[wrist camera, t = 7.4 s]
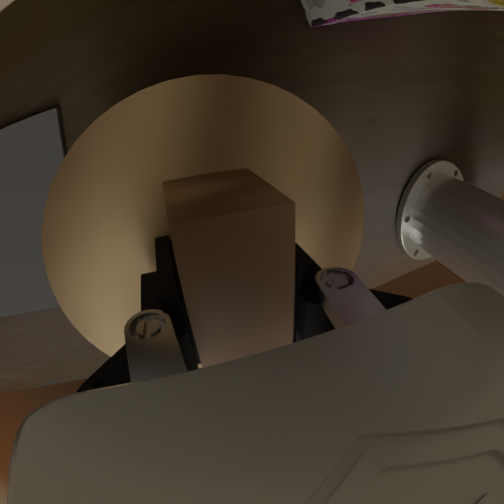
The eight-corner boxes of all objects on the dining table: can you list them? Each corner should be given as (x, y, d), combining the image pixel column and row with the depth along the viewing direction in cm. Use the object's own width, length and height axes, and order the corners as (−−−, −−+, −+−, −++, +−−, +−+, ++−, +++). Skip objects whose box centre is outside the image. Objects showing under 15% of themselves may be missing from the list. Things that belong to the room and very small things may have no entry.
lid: (355, 78, 11) (445, 82, 7) (338, 325, 18) (383, 381, 14) (14, 123, 8) (-62, 143, 3) (111, 382, 14) (114, 458, 10)
